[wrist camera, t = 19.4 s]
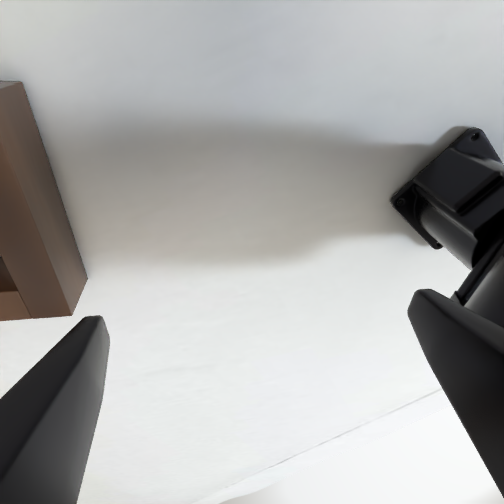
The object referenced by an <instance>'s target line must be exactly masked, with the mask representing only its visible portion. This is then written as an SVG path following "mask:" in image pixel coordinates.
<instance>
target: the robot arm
mask: <svg viewBox="0 0 504 504" xmlns="http://www.w3.org/2000/svg"><path fill="white" fill-rule="evenodd" d="M474 134H475V135H474ZM473 135H474V137H473V138H472V139H471V137H472V136H473ZM400 199H401V201H400V202H399V203H397V202H398V201H399V200H400ZM391 205H392V206H393V207H394V208H395V209H396V210H397V212H398V213H399V214H400V215H401V216H402V217H403V218H404V219H405V220H406V221H407V222H408V223H409V224H410V225H411V226H412V227H413V228H414V229H415V230H416V231H417V232H418V233H419V234H420V235H421V236H422V237H423V238H424V239H425V240H426V241H427V242H428V244H429V245H430V246H431V247H433V248H434V249H440V248H442V247H443V246H444V247H445V248H446V249H447V250H448V251H449V252H450V253H452V254H453V255H454V256H455V257H456V258H457V259H458V260H460V261H461V262H462V263H463V264H464V265H465V266H466V267H467V268H469V269H470V270H471V272H470V273H469V275H468V276H467V278H466V279H465V281H464V282H463V284H462V285H461V287H460V288H459V289H458V291H455V292H454V294H453V295H452V297H451V298H450V299H449V298H447V297H445V296H444V295H442V294H440V293H438V292H436V291H434V290H432V289H420V290H417V291H416V292H415V293H414V295H413V298H412V300H411V303H410V305H409V307H408V317H409V320H410V322H411V324H412V327H413V329H414V331H415V334H416V336H417V338H418V340H419V343H420V345H421V347H422V350H423V352H424V354H425V356H426V359H427V361H428V363H429V365H430V367H431V368H432V370H433V372H434V374H435V376H436V377H437V379H438V381H439V383H440V385H441V386H442V388H443V390H444V392H445V394H446V395H447V397H448V399H449V401H450V403H451V404H452V406H453V408H454V410H455V411H456V413H457V415H458V417H459V419H460V420H461V422H462V424H463V426H464V428H465V429H466V431H467V433H468V435H469V437H470V438H471V440H472V442H473V444H474V446H475V447H476V449H477V451H478V453H479V454H480V456H481V458H482V460H483V461H484V464H485V465H486V467H487V469H488V470H489V472H490V474H491V476H492V478H493V480H494V481H495V483H496V485H497V487H498V489H499V490H500V492H501V494H502V496H503V498H504V165H503V163H502V162H501V160H500V158H499V157H498V155H497V153H496V152H495V150H494V149H493V147H492V145H491V144H490V142H489V140H488V139H487V137H486V135H485V134H484V132H483V131H482V130H481V129H479V128H476V127H472V128H470V129H468V130H467V131H466V132H465V133H464V134H462V135H461V136H460V137H459V138H458V139H457V140H456V141H455V142H453V143H452V144H451V145H450V146H449V147H448V148H447V149H446V150H445V151H443V152H442V153H441V154H440V155H439V156H438V157H437V158H436V159H434V160H433V161H432V162H431V163H430V164H429V165H428V166H427V167H426V168H424V169H423V170H422V171H421V172H420V173H419V174H418V175H417V176H415V177H414V178H413V179H412V180H411V181H410V182H409V183H408V184H407V185H405V186H404V187H403V188H402V189H401V190H400V191H399V192H398V193H396V194H395V195H394V196H393V197H392V199H391ZM437 242H438V243H437ZM109 346H110V338H109V334H108V331H107V328H106V325H105V322H104V319H103V317H102V316H100V315H97V316H87V317H84V318H83V319H82V320H81V321H80V322H79V323H78V324H77V325H76V326H75V327H74V328H73V329H71V330H70V331H69V332H68V333H67V334H66V335H65V336H64V337H63V338H62V339H61V340H60V341H59V342H58V343H57V344H56V345H55V346H54V347H53V348H52V349H51V350H50V351H49V352H48V353H47V354H46V355H45V356H44V357H43V358H42V359H41V360H40V361H39V362H38V363H37V364H36V365H35V366H34V367H32V368H31V369H30V370H29V371H28V372H27V373H26V374H25V375H24V376H23V377H22V378H21V379H20V380H19V381H18V382H17V383H16V384H15V385H14V386H13V387H12V388H11V389H10V390H9V391H8V392H7V393H6V394H5V395H4V396H3V397H2V398H1V399H0V504H77V500H78V496H79V492H80V488H81V484H82V480H83V476H84V472H85V468H86V464H87V460H88V456H89V452H90V448H91V444H92V440H93V436H94V432H95V428H96V424H97V420H98V416H99V412H100V408H101V403H102V399H103V392H104V385H105V377H106V369H107V362H108V354H109Z"/></svg>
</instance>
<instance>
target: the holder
mask: <svg viewBox="0 0 504 504" xmlns="http://www.w3.org/2000/svg"><path fill="white" fill-rule="evenodd" d="M0 255H1V257H0V321H9V320H21V319H31V318H33V319H37V318H50V317H62V316H72V315H73V312H74V310H75V308H76V305H77V303H78V300H79V298H80V296H81V293H82V291H83V289H84V286H85V284H86V282H87V279H88V278H87V275H86V272H85V269H84V266H83V263H82V260H81V257H80V254H79V251H78V248H77V245H76V242H75V239H74V236H73V233H72V230H71V227H70V224H69V221H68V218H67V215H66V212H65V209H64V206H63V203H62V200H61V197H60V194H59V191H58V188H57V185H56V182H55V179H54V176H53V173H52V170H51V167H50V164H49V161H48V158H47V155H46V152H45V149H44V146H43V143H42V140H41V137H40V134H39V131H38V128H37V125H36V122H35V119H34V116H33V113H32V110H31V107H30V104H29V101H28V98H27V95H26V92H25V89H24V86H23V83H22V82H10V81H0Z"/></svg>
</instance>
